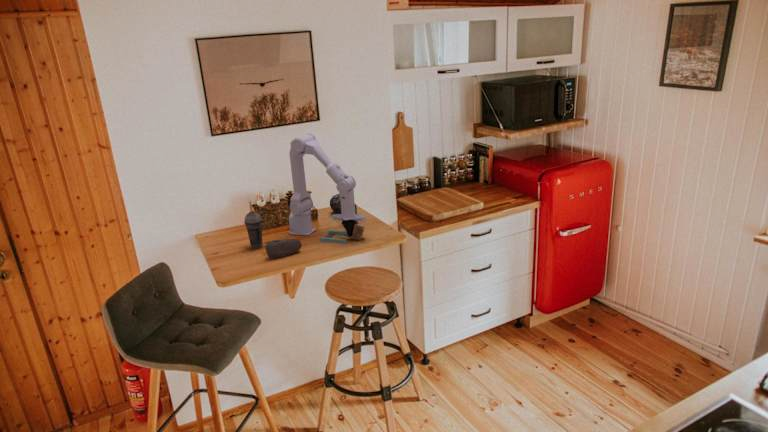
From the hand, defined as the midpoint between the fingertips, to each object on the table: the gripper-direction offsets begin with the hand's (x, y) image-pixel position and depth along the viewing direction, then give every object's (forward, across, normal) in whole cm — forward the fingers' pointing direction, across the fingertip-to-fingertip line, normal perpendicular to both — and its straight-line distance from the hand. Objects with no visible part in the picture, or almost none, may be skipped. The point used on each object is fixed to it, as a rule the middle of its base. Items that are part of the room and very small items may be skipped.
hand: (350, 236), depth 224 cm
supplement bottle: (+2, -8, +19) cm, 21 cm away
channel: (+1, -6, 0) cm, 6 cm away
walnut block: (+1, +2, +1) cm, 3 cm away
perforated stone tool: (+2, -20, -21) cm, 29 cm away
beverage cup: (+2, -36, -16) cm, 40 cm away
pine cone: (+2, -15, +29) cm, 33 cm away
